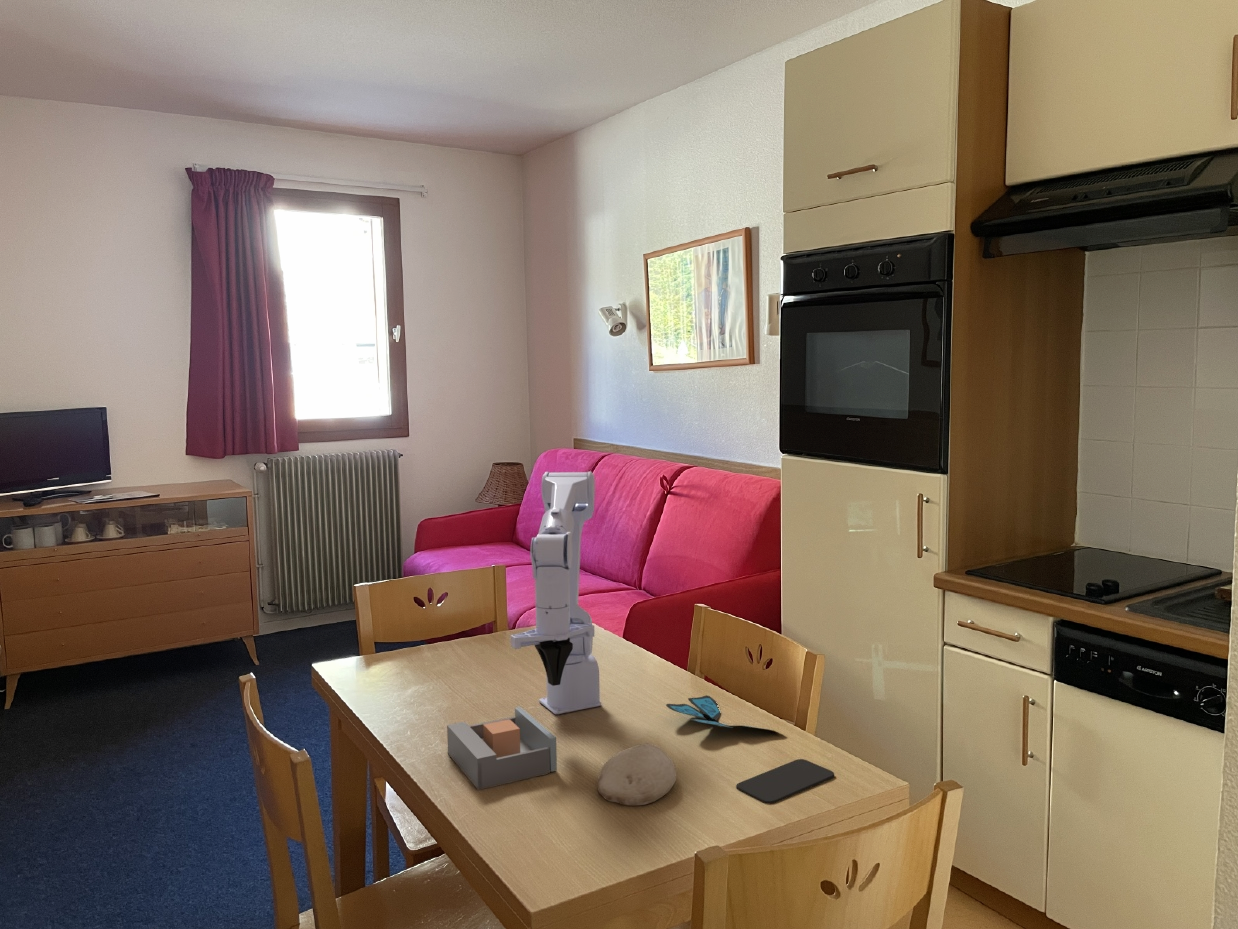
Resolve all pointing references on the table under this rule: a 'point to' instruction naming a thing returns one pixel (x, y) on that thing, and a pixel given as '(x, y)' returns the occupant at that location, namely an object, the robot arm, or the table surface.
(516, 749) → the block
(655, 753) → the stone
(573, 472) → the robot arm
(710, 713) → the decorative butterfly
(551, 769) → the tray
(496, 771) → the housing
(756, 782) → the phone
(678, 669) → the table surface
